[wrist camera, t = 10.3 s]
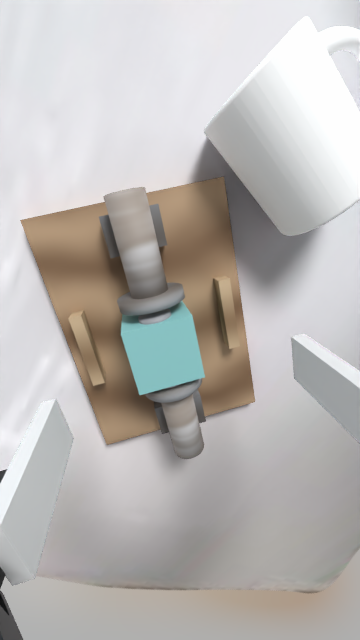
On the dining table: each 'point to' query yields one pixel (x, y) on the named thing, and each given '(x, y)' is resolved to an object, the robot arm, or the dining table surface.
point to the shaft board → (148, 302)
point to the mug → (295, 130)
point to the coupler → (162, 348)
